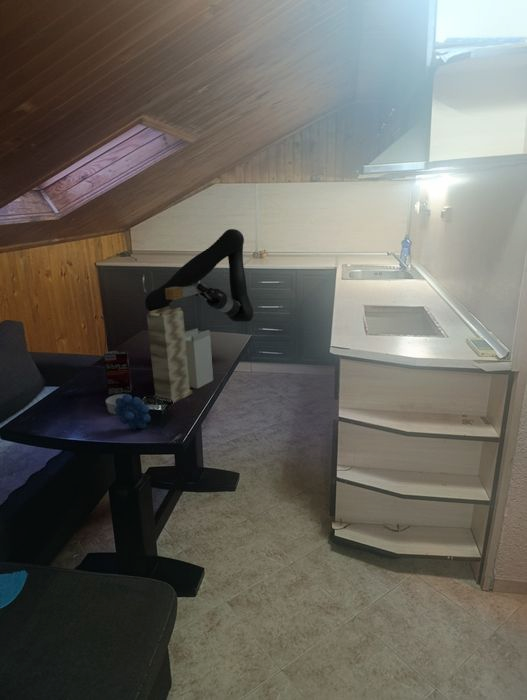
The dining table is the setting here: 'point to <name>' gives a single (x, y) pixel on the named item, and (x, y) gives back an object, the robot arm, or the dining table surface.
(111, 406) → the ramekin
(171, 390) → the stand
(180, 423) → the dining table surface
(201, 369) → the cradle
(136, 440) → the dining table surface
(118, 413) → the grapes
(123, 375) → the supplement box
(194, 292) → the block
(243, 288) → the robot arm
